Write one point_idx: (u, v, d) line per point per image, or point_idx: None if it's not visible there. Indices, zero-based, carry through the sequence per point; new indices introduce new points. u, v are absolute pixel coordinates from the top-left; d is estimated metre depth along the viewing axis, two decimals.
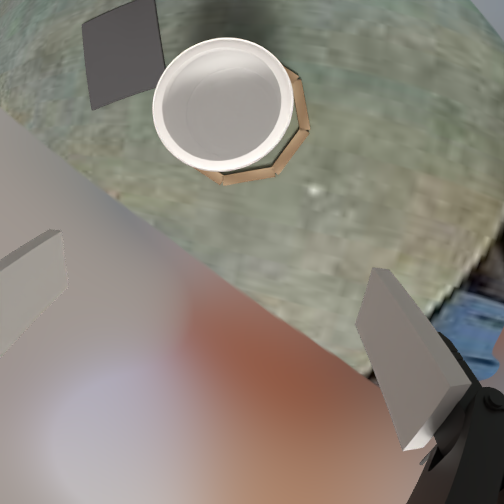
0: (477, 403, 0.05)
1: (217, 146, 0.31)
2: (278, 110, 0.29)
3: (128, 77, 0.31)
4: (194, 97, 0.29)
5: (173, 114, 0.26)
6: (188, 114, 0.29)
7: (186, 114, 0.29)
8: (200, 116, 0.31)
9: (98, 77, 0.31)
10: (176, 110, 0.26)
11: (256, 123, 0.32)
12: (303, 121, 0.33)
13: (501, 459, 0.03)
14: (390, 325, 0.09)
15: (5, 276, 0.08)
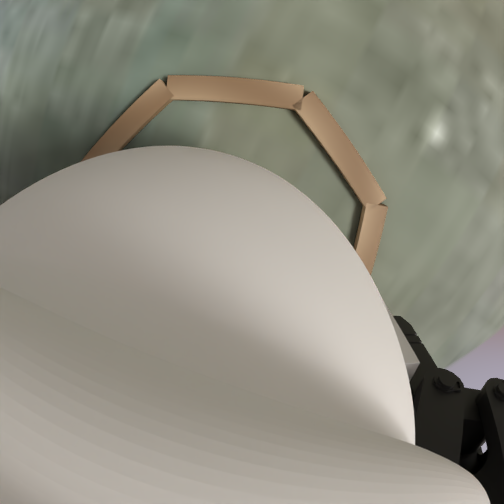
0: (426, 385, 0.06)
1: None
2: None
3: None
4: None
5: None
6: None
7: None
8: None
9: None
10: None
11: None
12: (278, 95, 0.12)
13: (458, 441, 0.04)
14: None
15: None
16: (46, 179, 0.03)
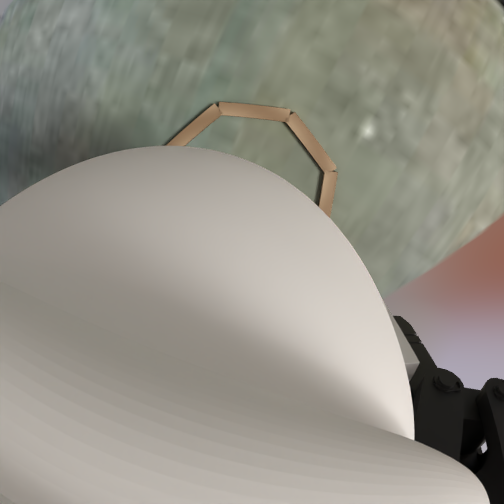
0: (425, 385, 0.06)
1: None
2: None
3: None
4: None
5: None
6: None
7: None
8: None
9: None
10: None
11: None
12: (277, 114, 0.25)
13: (457, 441, 0.04)
14: None
15: None
16: (48, 179, 0.03)
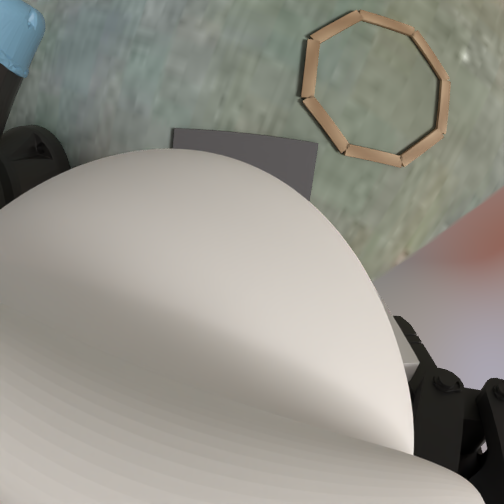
0: (425, 385, 0.06)
1: None
2: None
3: None
4: None
5: None
6: None
7: None
8: None
9: None
10: None
11: None
12: (405, 29, 0.22)
13: (457, 441, 0.04)
14: None
15: None
16: (45, 184, 0.03)
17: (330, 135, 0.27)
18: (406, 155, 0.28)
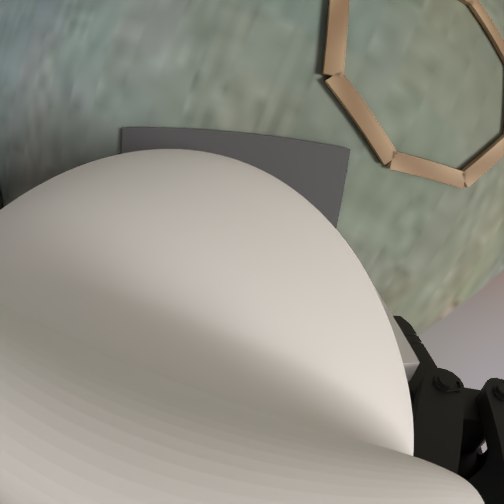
0: (425, 385, 0.06)
1: None
2: None
3: None
4: None
5: None
6: None
7: None
8: None
9: None
10: None
11: None
12: None
13: (457, 441, 0.04)
14: None
15: None
16: (45, 184, 0.03)
17: (369, 136, 0.17)
18: (470, 170, 0.17)
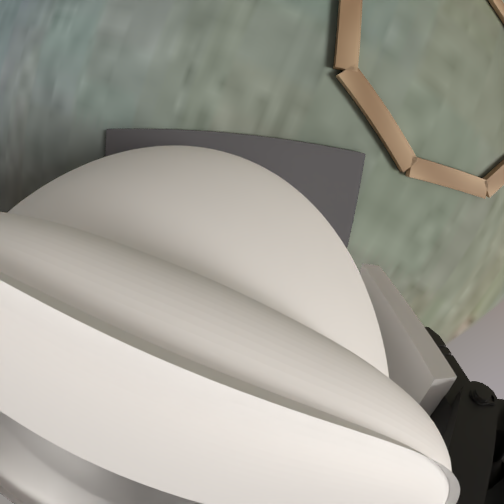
0: (463, 398, 0.05)
1: None
2: None
3: None
4: None
5: None
6: None
7: None
8: None
9: None
10: None
11: None
12: None
13: (489, 453, 0.04)
14: (378, 320, 0.09)
15: None
16: (73, 172, 0.04)
17: (386, 140, 0.14)
18: (493, 178, 0.14)
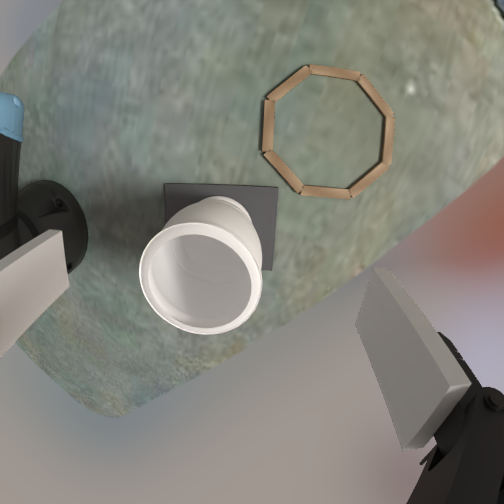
0: (477, 403, 0.05)
1: None
2: (220, 202, 0.32)
3: (256, 225, 0.38)
4: (193, 270, 0.35)
5: (203, 299, 0.32)
6: (207, 279, 0.35)
7: (206, 281, 0.35)
8: (212, 266, 0.37)
9: None
10: (200, 294, 0.33)
11: None
12: (351, 75, 0.31)
13: (501, 459, 0.03)
14: (390, 325, 0.09)
15: (5, 276, 0.08)
16: (190, 213, 0.26)
17: (287, 180, 0.36)
18: (354, 188, 0.36)
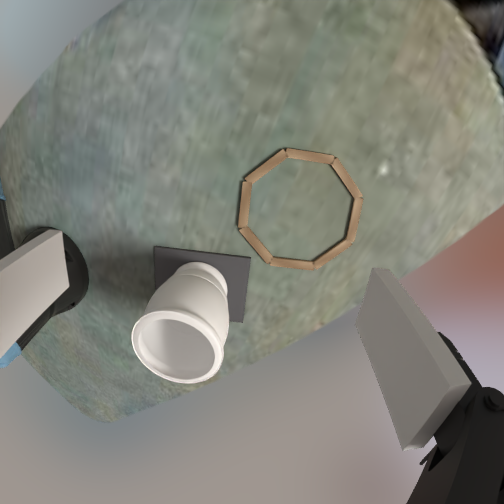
0: (477, 403, 0.05)
1: None
2: None
3: (230, 286, 0.45)
4: (175, 323, 0.42)
5: (182, 350, 0.39)
6: (187, 331, 0.42)
7: (186, 333, 0.42)
8: None
9: None
10: (180, 344, 0.40)
11: None
12: (325, 159, 0.38)
13: (501, 458, 0.03)
14: (390, 325, 0.09)
15: (5, 276, 0.08)
16: (171, 294, 0.33)
17: (259, 253, 0.43)
18: (317, 261, 0.43)
